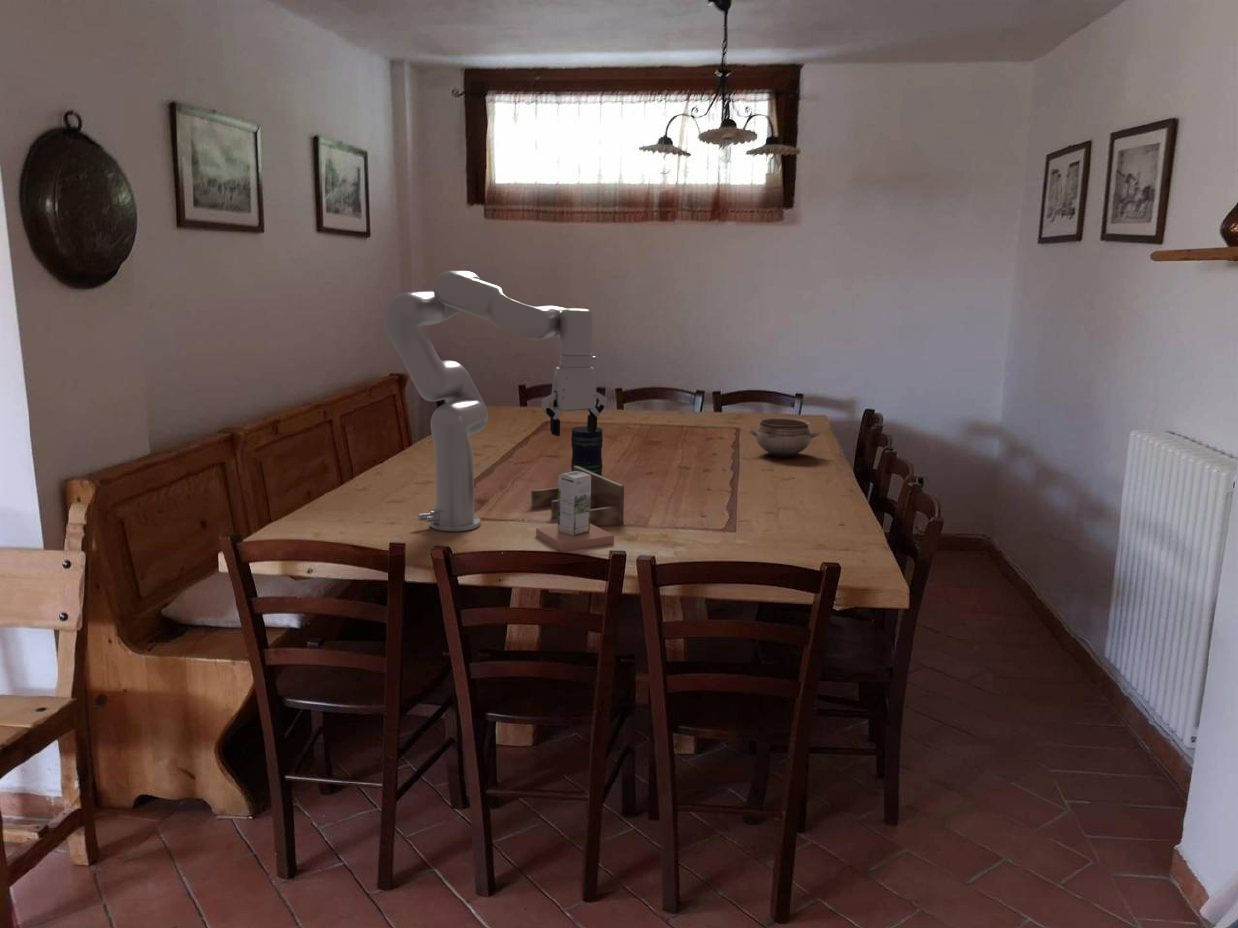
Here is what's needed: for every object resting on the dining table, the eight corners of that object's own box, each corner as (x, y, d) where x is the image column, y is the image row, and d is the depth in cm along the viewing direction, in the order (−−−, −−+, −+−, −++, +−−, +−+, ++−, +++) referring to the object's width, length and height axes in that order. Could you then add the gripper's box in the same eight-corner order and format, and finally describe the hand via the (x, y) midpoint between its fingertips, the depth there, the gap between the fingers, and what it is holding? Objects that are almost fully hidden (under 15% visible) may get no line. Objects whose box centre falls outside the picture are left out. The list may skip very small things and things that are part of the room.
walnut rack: (575, 529, 237) (575, 491, 235) (531, 506, 259) (531, 470, 256) (623, 522, 244) (624, 485, 242) (577, 500, 266) (577, 465, 263)
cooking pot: (815, 451, 339) (817, 418, 336) (821, 462, 320) (823, 427, 318) (745, 449, 341) (747, 415, 338) (747, 459, 323) (748, 424, 320)
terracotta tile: (562, 551, 220) (562, 543, 219) (536, 536, 231) (536, 528, 231) (613, 543, 227) (614, 535, 226) (586, 528, 238) (586, 521, 238)
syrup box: (574, 527, 233) (574, 469, 229) (591, 532, 229) (591, 473, 225) (557, 531, 229) (557, 473, 225) (574, 536, 225) (574, 477, 221)
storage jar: (598, 480, 289) (599, 433, 286) (567, 478, 291) (567, 431, 288) (605, 473, 299) (606, 427, 296) (575, 471, 301) (575, 425, 298)
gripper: (599, 359, 227) (597, 428, 231) (535, 361, 218) (533, 433, 222) (615, 362, 221) (613, 434, 225) (549, 365, 212) (548, 439, 216)
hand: (573, 433), depth 223 cm, fingers open, 9 cm apart
